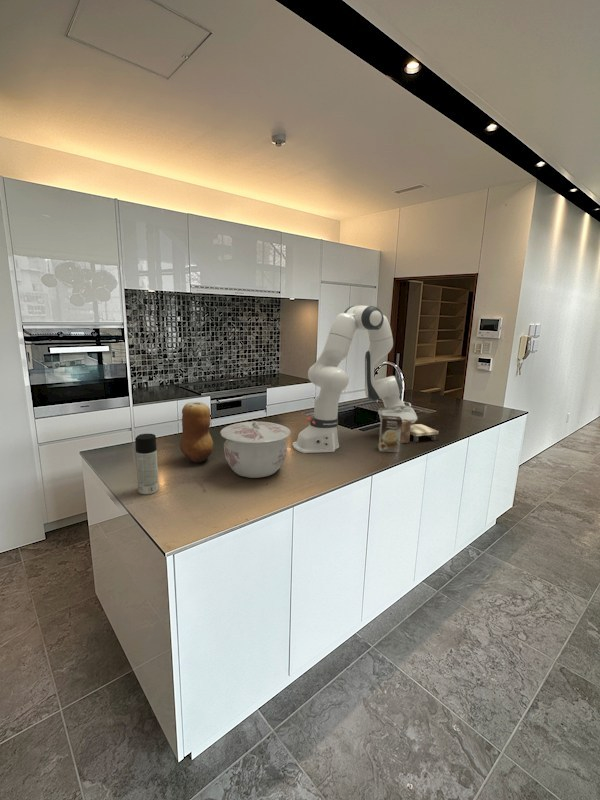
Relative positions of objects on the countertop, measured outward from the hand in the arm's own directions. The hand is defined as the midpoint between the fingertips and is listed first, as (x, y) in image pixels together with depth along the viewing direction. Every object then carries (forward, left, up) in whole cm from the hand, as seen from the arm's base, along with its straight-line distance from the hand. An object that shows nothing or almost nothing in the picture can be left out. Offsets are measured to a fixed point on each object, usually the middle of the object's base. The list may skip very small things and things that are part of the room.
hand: (403, 430), depth 194 cm
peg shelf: (+12, +4, -6) cm, 14 cm away
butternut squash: (-101, +4, -6) cm, 101 cm away
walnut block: (0, +1, -6) cm, 6 cm away
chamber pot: (-80, -14, -6) cm, 82 cm away
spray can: (-120, -20, -6) cm, 122 cm away
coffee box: (-14, -8, -6) cm, 17 cm away
